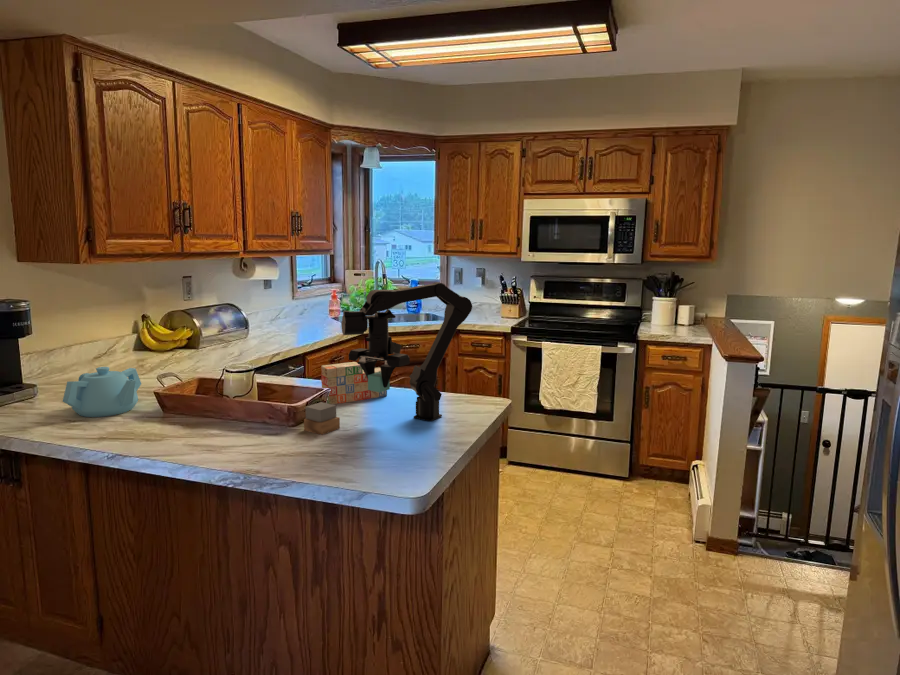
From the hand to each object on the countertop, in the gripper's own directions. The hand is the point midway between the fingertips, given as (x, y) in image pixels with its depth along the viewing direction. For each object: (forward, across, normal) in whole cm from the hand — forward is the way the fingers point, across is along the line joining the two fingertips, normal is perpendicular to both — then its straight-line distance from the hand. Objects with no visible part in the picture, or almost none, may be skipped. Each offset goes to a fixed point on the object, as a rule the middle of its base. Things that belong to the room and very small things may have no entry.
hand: (378, 386), depth 171 cm
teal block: (+1, 0, 0) cm, 1 cm away
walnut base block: (+11, +9, +14) cm, 20 cm away
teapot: (+11, +78, +38) cm, 87 cm away
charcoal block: (+8, +10, +14) cm, 19 cm away
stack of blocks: (+11, +24, -17) cm, 31 cm away
